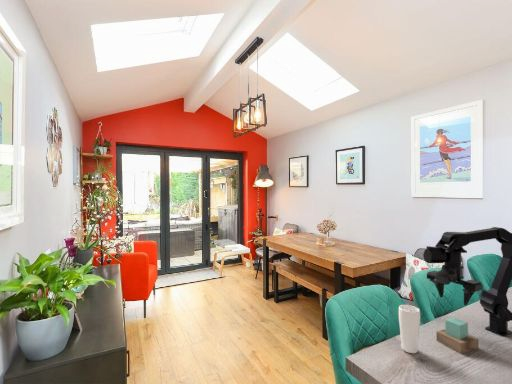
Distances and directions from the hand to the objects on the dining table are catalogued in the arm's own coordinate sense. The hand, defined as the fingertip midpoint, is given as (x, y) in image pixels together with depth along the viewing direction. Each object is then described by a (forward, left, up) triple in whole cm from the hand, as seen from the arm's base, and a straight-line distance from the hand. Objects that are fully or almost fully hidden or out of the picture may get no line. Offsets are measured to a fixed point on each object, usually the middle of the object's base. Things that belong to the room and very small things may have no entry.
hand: (453, 301), depth 113 cm
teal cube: (+10, +7, -8) cm, 15 cm away
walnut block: (+10, +7, -12) cm, 17 cm away
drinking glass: (+29, +2, -12) cm, 32 cm away
